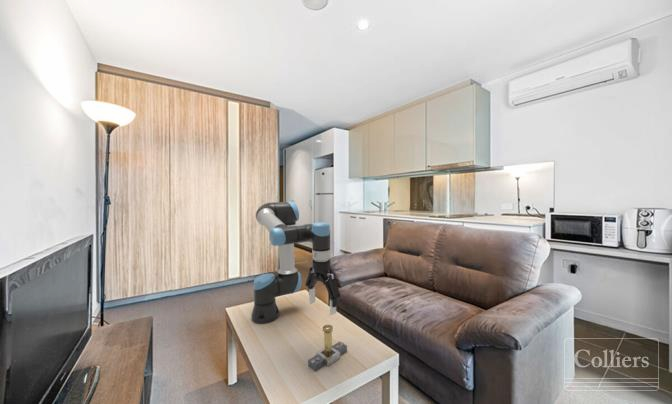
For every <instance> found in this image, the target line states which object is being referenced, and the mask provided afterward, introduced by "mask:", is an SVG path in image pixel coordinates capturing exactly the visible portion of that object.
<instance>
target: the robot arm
mask: <svg viewBox="0 0 672 404" xmlns="http://www.w3.org/2000/svg"><path fill="white" fill-rule="evenodd" d="M255 218H256V221H257V223H259V225H261V226H263V227H264V228H265V229H266V230H267V231H268V232H269V234H268V235H269V242H270V244H271V245H272V246H274V247H275V246H276V247H277V246H278V248H279V249H278V250H279V254H278V255H279V269H278V270H277V274H276V275H275V274H274V273H273V272H272V273H271V272H270V273H269V272H268V273H263V274H260V275H258V276H257V277H256V278H254V280H253V287H252V288H253V301H254V302H253V308H252V311H251V321H252V322H253V323H257V324H267V323H271V322H274V321H275V320H277V319H278V318H279V316H280V309H279V307H278V305H277V302H276V297H281V296H286V295H291V294H295V293H297V292H299V291H300V289H301V288H302V287H301V286H302V275H301V273H300V272H299V271H298V268H297V267H295V266H296V265H295V263H296V262H295V261H296V260H295V244H300V243H309V242H311V244H312V245H311V246H312V247H311V249H312V267H309V271H308V276H307V278H306V282H305V286H306V287H307V289H308V297H309V300H308V301H309V304H310V305H312V304H314V303H316V288H315V286H316V284H317V283H318V282H321V283H322V284H323V285H324V286H325V288H326V290H327V293H328V295H329V296H330V298H329V315H330V316H333V315H335V314H336V313H337V306H338V305H337V304H338V300H339V299H341V298H342V296H341V292H340V289H339V287H338V284H337V281H336V275H335V273H333V272H332V273H330V269H331V227H330V224H329V222H327V221H326V222H323V221H321V222H320V221H318V222H313V223H305V224H302V225H297V222H298V221H299V220H300V211H299V208H298V206H297V204H296V203H295V202H294V201H281V202H280V201H278V202H267V203H263V204H262V205H260V206H259V207H258V209H257V210H256V212H255Z"/></svg>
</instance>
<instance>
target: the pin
mask: <svg viewBox="0 0 672 404" xmlns="http://www.w3.org/2000/svg"><path fill="white" fill-rule="evenodd" d="M333 327H334V326H333V325H331V324H325V325H323V326H322V332H323V335H324V336H323V340H324V341H323V344H324V345H323V346H324V347H323V348H324V349H325V356H326V357H327V358H328V357H330V356H331V355H332V346H333V338H332V337H333V336H332V333H333V330H334V328H333Z"/></svg>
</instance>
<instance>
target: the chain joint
mask: <svg viewBox="0 0 672 404" xmlns="http://www.w3.org/2000/svg"><path fill="white" fill-rule="evenodd" d="M347 351H348V345H347V344H345V343H344V342H341V341H338V342H337V343H335V344H332V355H331V356H330V357H328V358H327V357H326V356H325V349H324V347H323V348H322V349H320V350H318V351H316V355H314V356H313V357H311V358H309V359H307V365H308V367H309V368H310V369H311V370H313V372H316V371H318V370H320V369H321V368H323V367H324V366H327V367H329V366H330V365H332V364H333V363H335V362H336V361H338V360H340V359H341V355H344V353H346V352H347Z"/></svg>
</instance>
